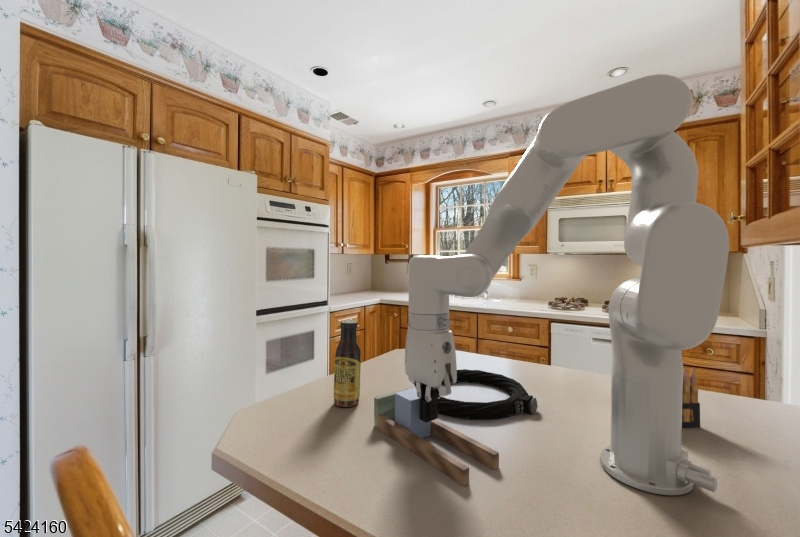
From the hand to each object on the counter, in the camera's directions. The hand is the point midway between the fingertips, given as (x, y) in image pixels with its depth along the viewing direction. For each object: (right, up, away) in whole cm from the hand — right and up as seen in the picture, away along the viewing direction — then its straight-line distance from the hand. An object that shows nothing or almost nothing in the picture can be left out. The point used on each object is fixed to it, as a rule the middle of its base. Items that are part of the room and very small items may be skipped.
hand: (428, 419), depth 68 cm
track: (+1, -5, 0) cm, 5 cm away
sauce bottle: (-18, -5, +19) cm, 27 cm away
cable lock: (+13, -5, +23) cm, 27 cm away
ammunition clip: (+51, -5, +7) cm, 52 cm away
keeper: (-3, -5, +4) cm, 7 cm away
